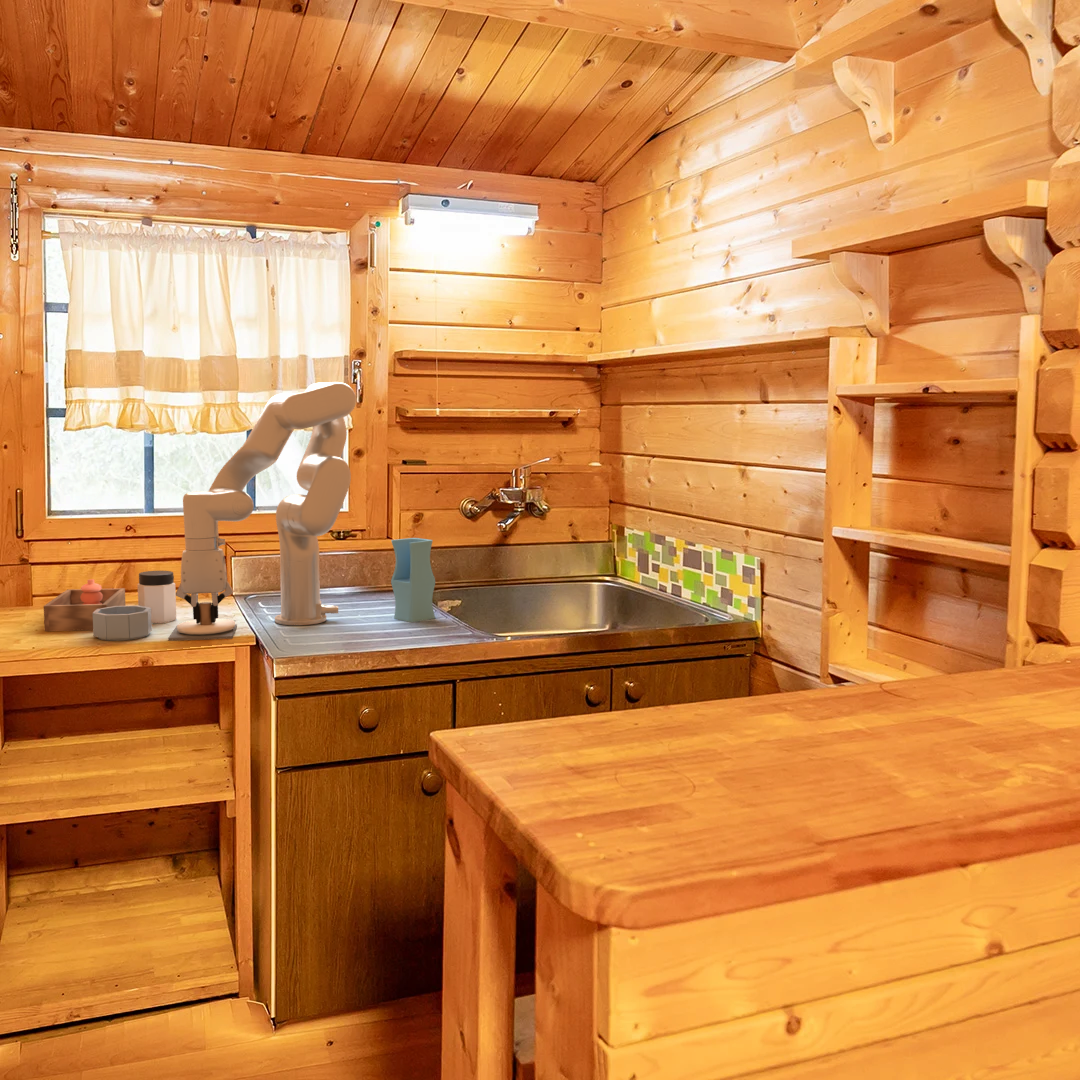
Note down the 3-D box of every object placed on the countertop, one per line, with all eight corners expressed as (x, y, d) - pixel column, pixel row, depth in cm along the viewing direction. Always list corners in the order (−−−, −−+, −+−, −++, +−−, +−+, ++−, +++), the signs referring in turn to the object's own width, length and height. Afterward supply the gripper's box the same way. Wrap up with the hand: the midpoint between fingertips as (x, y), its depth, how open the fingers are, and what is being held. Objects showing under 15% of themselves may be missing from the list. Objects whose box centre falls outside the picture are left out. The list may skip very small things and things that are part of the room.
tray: (125, 611, 285) (124, 588, 284) (107, 629, 261) (106, 604, 261) (68, 612, 282) (67, 589, 281) (44, 631, 259) (43, 606, 258)
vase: (391, 618, 279) (390, 540, 276) (415, 614, 284) (414, 537, 282) (411, 622, 273) (411, 542, 271) (435, 618, 279) (435, 540, 277)
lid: (237, 621, 266) (236, 596, 265) (232, 632, 253) (231, 607, 252) (181, 623, 263) (179, 599, 262) (173, 635, 251) (172, 609, 250)
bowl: (154, 629, 261) (153, 605, 261) (145, 640, 250) (145, 614, 249) (101, 631, 259) (100, 606, 258) (90, 641, 247) (89, 615, 247)
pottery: (96, 629, 262) (94, 589, 261) (55, 630, 261) (53, 589, 260) (115, 615, 280) (114, 577, 278) (77, 616, 278) (75, 578, 277)
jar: (180, 621, 272) (179, 573, 271) (147, 625, 267) (146, 576, 266) (167, 615, 279) (165, 569, 278) (135, 619, 274) (133, 572, 272)
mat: (236, 626, 266) (236, 624, 266) (231, 638, 252) (231, 636, 252) (176, 628, 263) (176, 625, 263) (168, 640, 250) (168, 637, 250)
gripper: (239, 541, 261) (243, 617, 263) (168, 543, 258) (172, 620, 260) (236, 545, 253) (240, 623, 256) (163, 548, 250) (167, 627, 253)
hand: (206, 621), depth 258 cm, fingers closed on lid, 2 cm apart
